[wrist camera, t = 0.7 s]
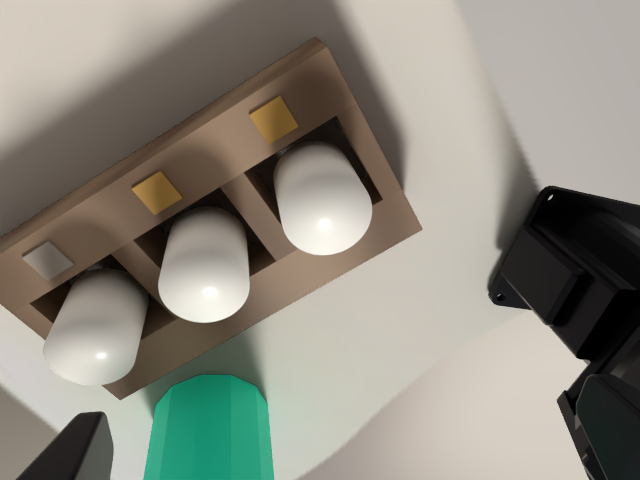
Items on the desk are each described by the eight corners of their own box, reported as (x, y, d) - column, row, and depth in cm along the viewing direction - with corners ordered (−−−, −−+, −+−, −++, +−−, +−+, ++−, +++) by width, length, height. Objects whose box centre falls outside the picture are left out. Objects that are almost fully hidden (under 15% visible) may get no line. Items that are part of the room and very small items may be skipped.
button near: (327, 124, 18) (345, 154, 15) (364, 188, 19) (386, 226, 16) (258, 167, 18) (262, 204, 15) (299, 226, 20) (310, 269, 17)
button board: (315, 36, 18) (327, 47, 16) (403, 202, 22) (423, 230, 20) (-6, 241, 20) (-36, 277, 17) (130, 360, 24) (119, 402, 21)
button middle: (217, 192, 18) (215, 232, 16) (261, 249, 20) (266, 295, 17) (151, 232, 19) (138, 278, 16) (199, 285, 20) (195, 336, 17)
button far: (113, 255, 19) (94, 305, 16) (164, 306, 20) (154, 359, 18) (52, 293, 19) (22, 347, 16) (106, 340, 21) (87, 397, 18)
